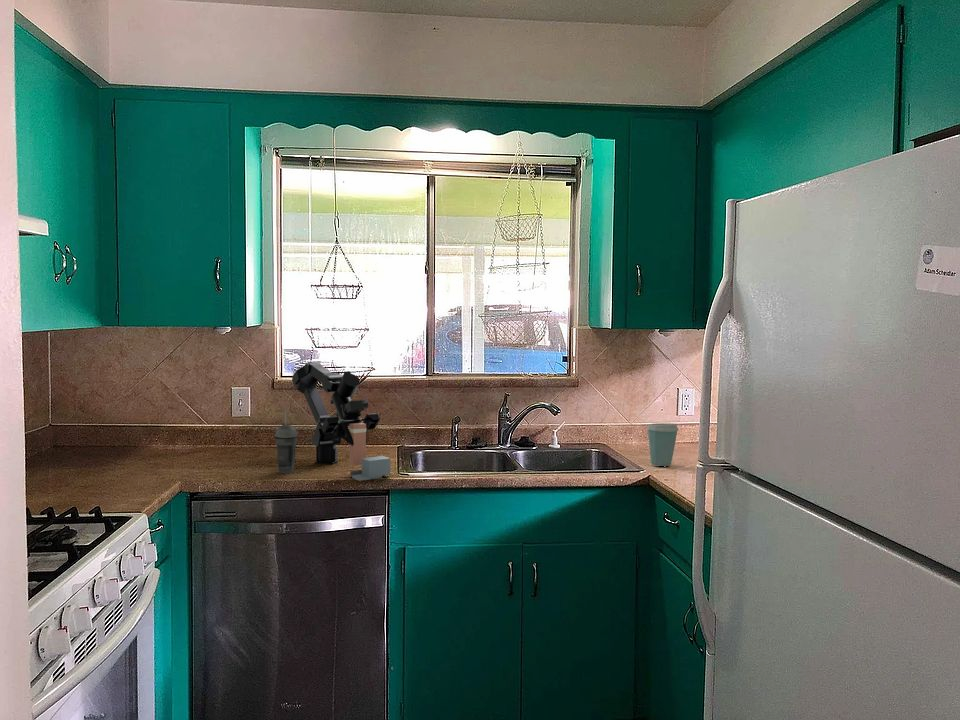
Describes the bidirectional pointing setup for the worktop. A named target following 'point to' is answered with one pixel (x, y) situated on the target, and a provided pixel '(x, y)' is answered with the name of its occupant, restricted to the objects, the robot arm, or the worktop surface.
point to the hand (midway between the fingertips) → (359, 444)
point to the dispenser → (372, 468)
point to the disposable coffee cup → (662, 442)
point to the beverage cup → (286, 447)
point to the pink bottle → (357, 443)
